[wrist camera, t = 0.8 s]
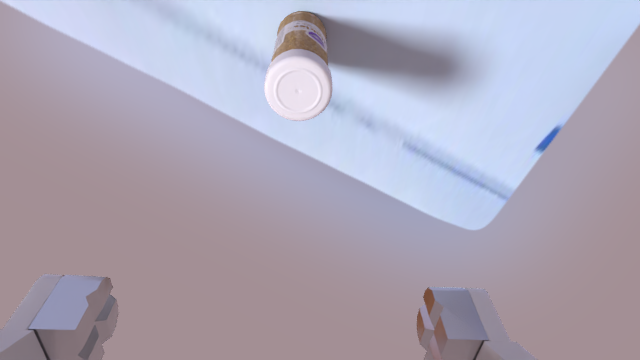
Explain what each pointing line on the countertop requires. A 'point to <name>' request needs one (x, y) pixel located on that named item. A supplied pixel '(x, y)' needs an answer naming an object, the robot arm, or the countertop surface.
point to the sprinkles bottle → (299, 69)
